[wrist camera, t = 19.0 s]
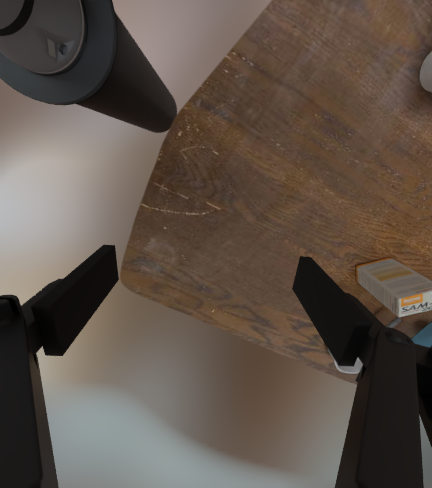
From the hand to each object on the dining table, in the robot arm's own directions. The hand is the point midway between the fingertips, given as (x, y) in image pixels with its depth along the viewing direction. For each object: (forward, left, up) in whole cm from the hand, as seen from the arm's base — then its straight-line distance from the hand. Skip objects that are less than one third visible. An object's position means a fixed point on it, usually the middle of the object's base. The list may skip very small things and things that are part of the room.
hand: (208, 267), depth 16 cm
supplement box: (+15, +40, -32) cm, 53 cm away
